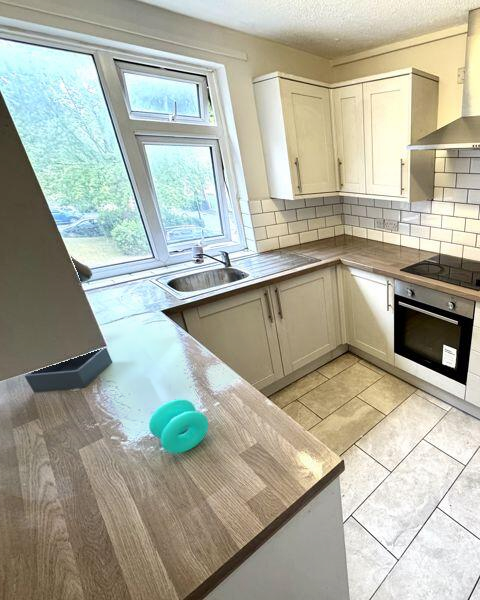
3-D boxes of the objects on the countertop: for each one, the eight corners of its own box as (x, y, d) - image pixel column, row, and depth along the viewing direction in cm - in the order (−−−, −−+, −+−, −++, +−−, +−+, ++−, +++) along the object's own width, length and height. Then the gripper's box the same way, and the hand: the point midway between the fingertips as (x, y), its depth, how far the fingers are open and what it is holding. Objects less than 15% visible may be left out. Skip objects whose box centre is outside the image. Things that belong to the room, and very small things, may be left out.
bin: (33, 392, 98) (24, 376, 96) (67, 366, 110) (59, 350, 108) (85, 387, 100) (77, 371, 98) (112, 362, 112) (106, 347, 110)
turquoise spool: (170, 464, 76) (158, 432, 72) (154, 443, 81) (141, 412, 77) (214, 437, 83) (205, 406, 79) (196, 419, 89) (187, 390, 84)
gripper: (19, 283, 99) (-8, 304, 85) (81, 275, 105) (65, 294, 92) (30, 306, 102) (6, 329, 89) (90, 297, 108) (76, 317, 95)
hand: (36, 311), depth 90 cm, fingers closed on spray can, 5 cm apart
